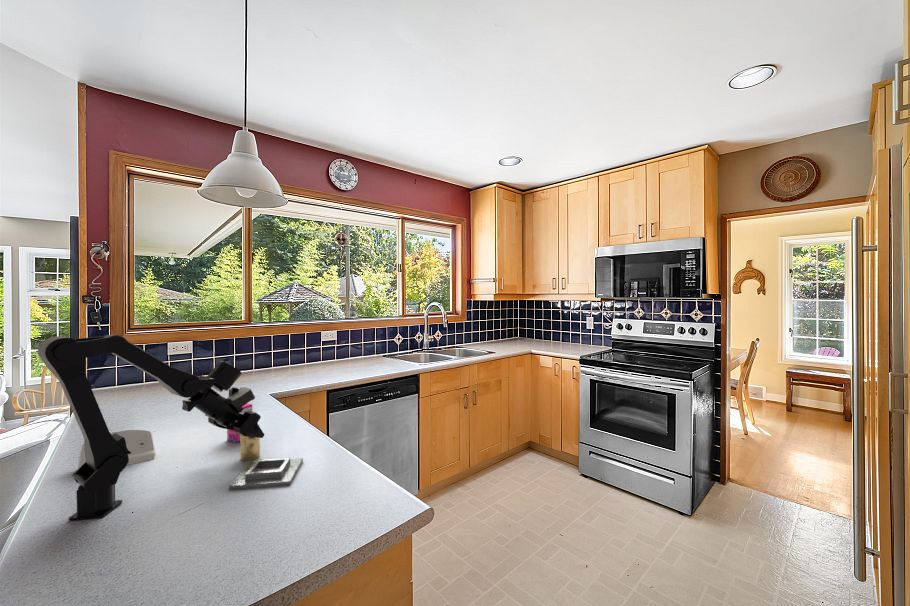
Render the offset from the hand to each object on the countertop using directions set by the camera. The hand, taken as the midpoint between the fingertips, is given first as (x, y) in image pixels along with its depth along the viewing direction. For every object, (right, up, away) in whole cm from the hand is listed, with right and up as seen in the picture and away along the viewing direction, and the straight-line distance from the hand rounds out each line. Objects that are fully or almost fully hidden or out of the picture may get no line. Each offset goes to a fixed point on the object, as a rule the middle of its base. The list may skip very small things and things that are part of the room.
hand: (254, 433), depth 114 cm
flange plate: (+10, -7, -12) cm, 17 cm away
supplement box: (-12, -7, +14) cm, 20 cm away
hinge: (-37, -8, -3) cm, 38 cm away
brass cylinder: (-1, -7, -1) cm, 7 cm away
